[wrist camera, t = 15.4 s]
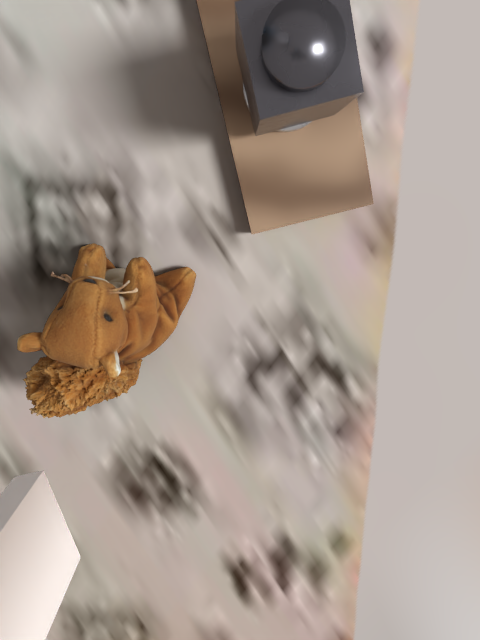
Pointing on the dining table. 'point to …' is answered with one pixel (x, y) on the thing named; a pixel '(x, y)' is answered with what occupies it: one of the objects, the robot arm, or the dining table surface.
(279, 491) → the dining table surface
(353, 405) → the dining table surface
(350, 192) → the block
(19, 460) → the dining table surface
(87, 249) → the stuffed squirrel
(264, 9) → the grey cube with knob
